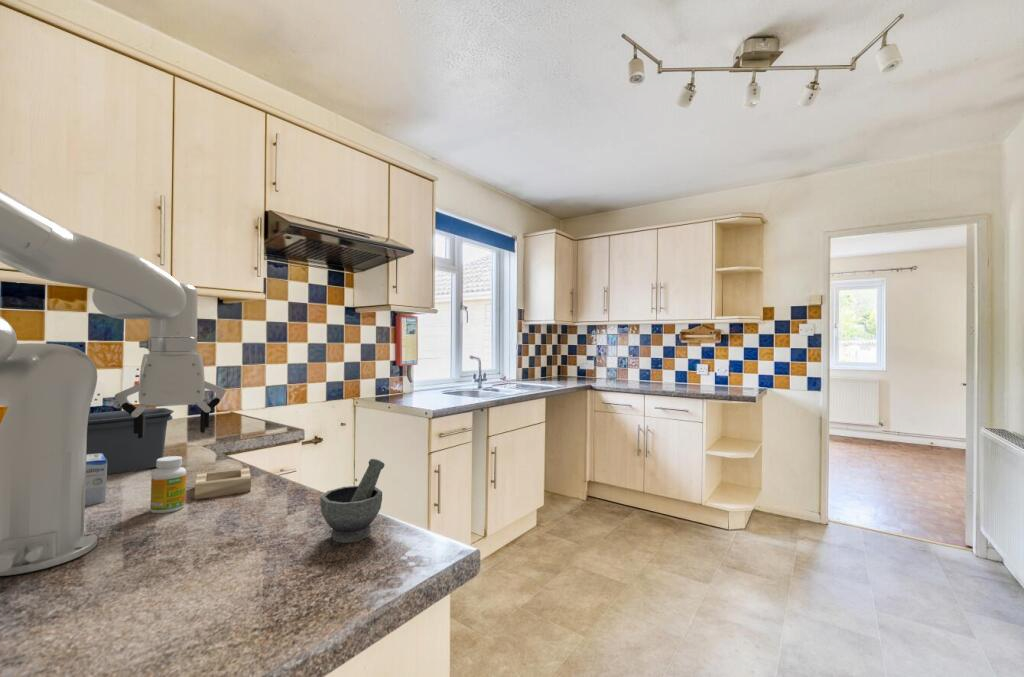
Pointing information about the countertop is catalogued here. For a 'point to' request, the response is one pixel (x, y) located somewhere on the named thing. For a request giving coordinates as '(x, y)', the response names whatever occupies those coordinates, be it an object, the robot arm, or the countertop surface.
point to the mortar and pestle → (353, 506)
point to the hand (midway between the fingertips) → (173, 434)
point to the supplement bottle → (168, 485)
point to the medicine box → (95, 479)
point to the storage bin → (127, 439)
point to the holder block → (222, 482)
